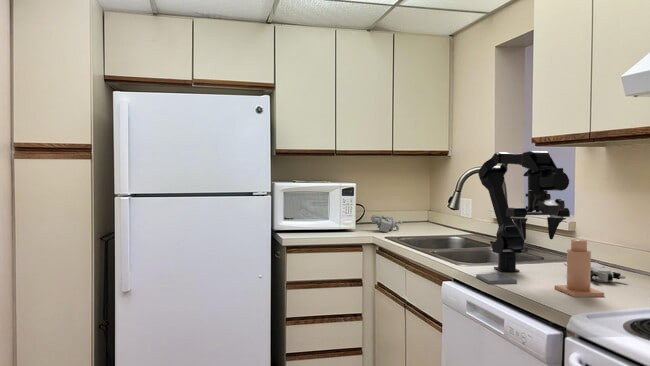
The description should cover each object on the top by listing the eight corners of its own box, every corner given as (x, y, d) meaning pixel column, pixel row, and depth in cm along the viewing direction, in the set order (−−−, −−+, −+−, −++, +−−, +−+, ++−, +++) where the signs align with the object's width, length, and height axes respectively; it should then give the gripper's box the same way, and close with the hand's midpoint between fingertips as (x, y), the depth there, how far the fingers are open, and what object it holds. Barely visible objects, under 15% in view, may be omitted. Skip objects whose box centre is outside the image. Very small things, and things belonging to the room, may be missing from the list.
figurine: (400, 241, 265) (370, 237, 260) (396, 224, 274) (367, 220, 269) (407, 229, 258) (377, 225, 253) (403, 212, 267) (373, 208, 262)
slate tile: (476, 277, 152) (476, 274, 152) (502, 276, 153) (502, 273, 153) (489, 283, 143) (489, 280, 143) (516, 283, 144) (516, 280, 144)
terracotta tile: (554, 288, 138) (554, 285, 138) (582, 288, 139) (582, 284, 139) (574, 296, 129) (574, 293, 129) (604, 296, 130) (604, 292, 130)
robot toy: (628, 286, 146) (593, 272, 160) (629, 272, 145) (594, 259, 160) (593, 287, 144) (561, 273, 158) (594, 273, 143) (562, 260, 158)
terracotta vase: (562, 288, 135) (563, 240, 134) (572, 285, 138) (573, 238, 138) (584, 292, 130) (585, 242, 129) (594, 289, 133) (594, 240, 133)
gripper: (524, 190, 139) (524, 242, 139) (581, 190, 141) (581, 242, 141) (505, 190, 150) (505, 238, 150) (558, 190, 152) (558, 238, 152)
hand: (537, 239), depth 148 cm, fingers open, 9 cm apart
